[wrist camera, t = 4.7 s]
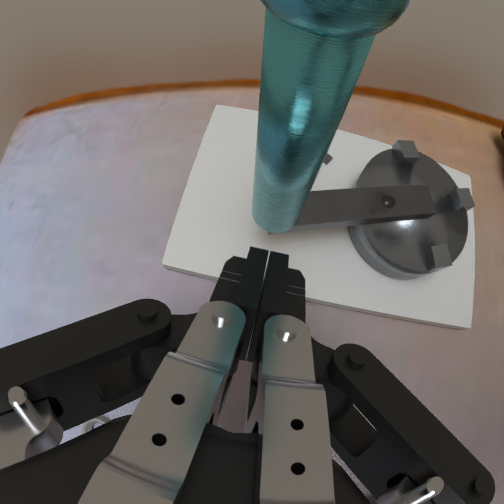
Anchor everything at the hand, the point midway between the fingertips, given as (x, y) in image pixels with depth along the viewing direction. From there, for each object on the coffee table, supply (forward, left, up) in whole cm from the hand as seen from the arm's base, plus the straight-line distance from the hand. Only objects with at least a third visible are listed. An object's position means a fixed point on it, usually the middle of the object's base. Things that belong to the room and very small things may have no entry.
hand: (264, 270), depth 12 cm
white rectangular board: (-5, -8, -10) cm, 14 cm away
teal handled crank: (-6, -6, -8) cm, 12 cm away
